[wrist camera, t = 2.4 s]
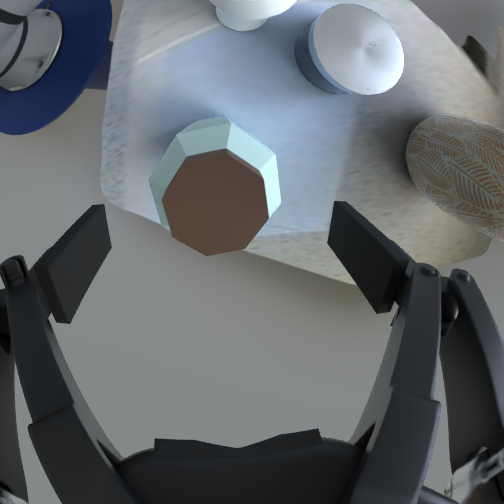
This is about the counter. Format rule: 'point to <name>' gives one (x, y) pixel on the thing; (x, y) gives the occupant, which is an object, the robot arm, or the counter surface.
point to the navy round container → (350, 51)
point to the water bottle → (215, 186)
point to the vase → (460, 169)
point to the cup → (248, 12)
